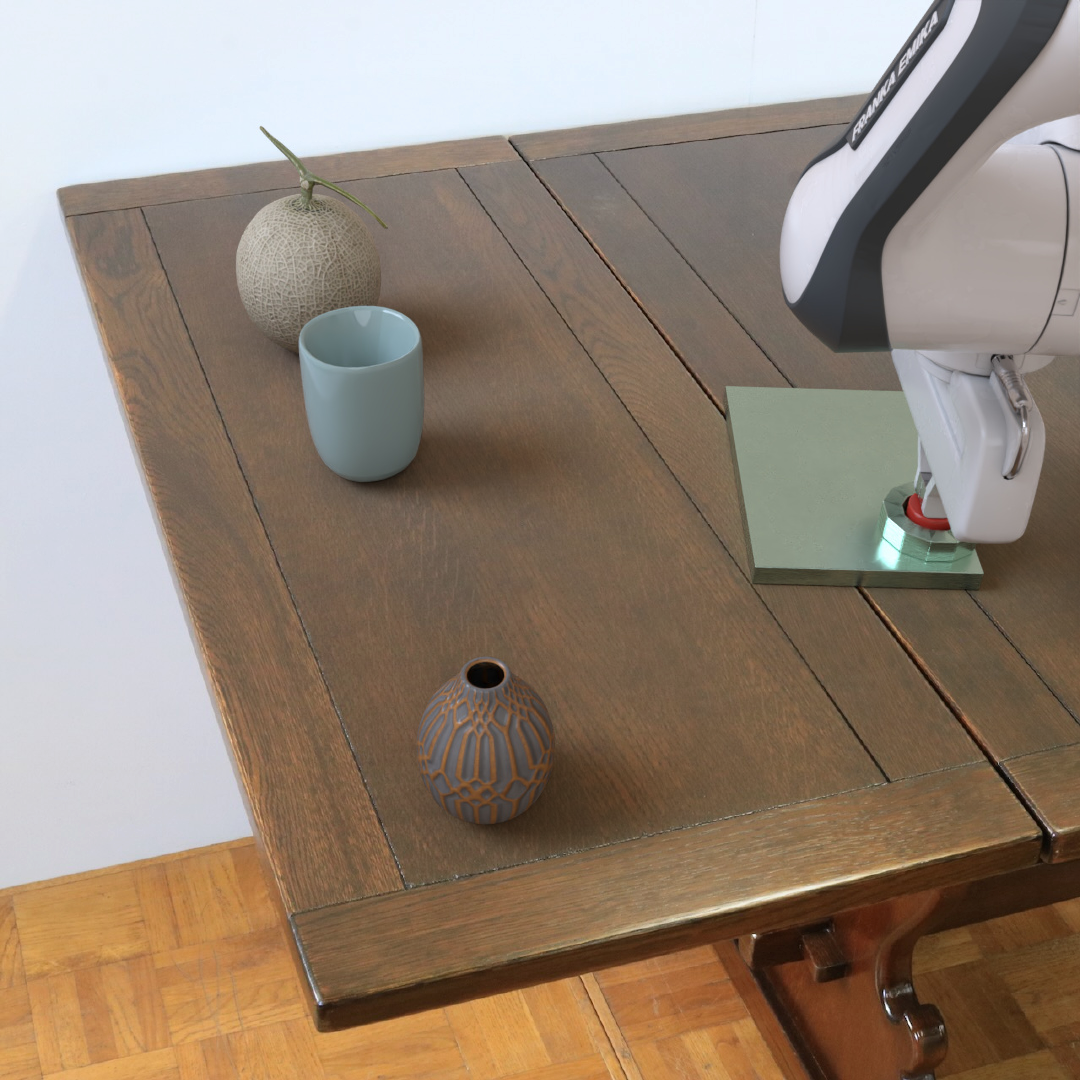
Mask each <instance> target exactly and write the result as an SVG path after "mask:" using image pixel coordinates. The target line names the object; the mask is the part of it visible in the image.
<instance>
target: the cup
mask: <svg viewBox="0 0 1080 1080" xmlns="http://www.w3.org/2000/svg"><path fill="white" fill-rule="evenodd" d="M423 345H424V344H423V340H422V335H421V331H420V329H419V328H418V326H417V325H416V323H415V322H414V321H413V320H412V319H411V318H410V317H408V316H407V315H405V314H404V313H402V312H400V311H397V310H395V309H393V308H389V307H385V306H378V305H377V306H354V307H346V308H341V309H337V310H333V311H329V312H327V313H324V314H321V315H319V316H317V317H315V318H313V319H312V320H310V321H309V322H308V323H307V324H305V326H304V327H303V329H302V330H301V332H300V335H299V341H298V347H299V353H298V358H299V367H300V368H299V370H300V377H301V378H300V379H301V385H302V393H303V402H304V408H305V409H304V410H305V414H306V419H307V424H308V430H309V433H310V438H311V440H312V443H313V445H314V448H315V450H316V452H317V454H318V456H319V458H320V459H321V461H322V462H323V463H324V464H325V466H326V467H327V468H328V469H329V471H331V472H333V473H334V474H335V475H336V476H339V477H340V478H342V479H344V480H348V481H352V482H358V483H373V482H378V481H383V480H386V479H389V478H392V477H394V476H396V475H398V474H400V473H402V472H403V471H404V470H405V469H406V468H408V467H409V466H410V465H411V463H412V462H413V461H414V459H415V458H416V456H417V454H418V452H419V449H420V446H421V443H422V438H423V431H424V420H425V401H426V400H425V399H426V398H425V366H424V363H425V362H424V361H425V360H424V346H423Z"/></svg>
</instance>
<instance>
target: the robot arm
mask: <svg viewBox="0 0 1080 1080" xmlns="http://www.w3.org/2000/svg"><path fill="white" fill-rule="evenodd" d="M779 271H780V279H781V281H780V282H781V290H782V296H783V300H784V303H785V305H786V307H788V309H789V310H790V312H791V313H792V314H793V315H794V316H795V318H796V319H797V320H798V321H799V322H800V323H801V324H802V325H803V326H804V327H805V328H806V330H808V331H809V332H810V333H811V334H812V335H813V336H814V337H815V338H817V340H818V341H820V342H821V343H822V344H823V345H824V346H825V347H827V348H828V350H830V351H831V352H833V353H834V354H849V353H850V354H851V353H887V352H889V353H890V354H891V355H890V356H891V360H892V363H893V365H894V368H895V371H896V374H897V377H898V380H899V383H900V386H901V388H902V391H903V392H904V394H905V397H906V400H907V403H908V406H909V409H910V412H911V415H912V418H913V421H914V423H915V426H916V429H917V432H918V468H917V472H916V476H915V480H914V488H915V491H916V494H917V497H918V499H919V502H920V505H921V509H922V512H923V515H924V516H925V517H927V518H947V519H948V521H949V524H950V527H951V531H952V533H953V535H954V537H955V538H956V539H957V540H958V541H961V542H967V543H977V544H985V545H986V544H987V545H989V544H991V545H992V544H993V545H997V544H999V545H1001V544H1005V545H1006V544H1012V543H1014V542H1016V541H1017V540H1019V539H1020V538H1021V537H1022V536H1023V535H1024V534H1025V532H1026V530H1027V526H1028V524H1029V521H1030V518H1031V517H1030V516H1031V514H1032V513H1031V512H1032V509H1033V505H1034V502H1035V498H1036V494H1037V490H1038V486H1039V482H1040V477H1041V473H1042V469H1043V464H1044V458H1045V452H1046V437H1047V436H1046V435H1047V434H1046V427H1045V423H1044V419H1043V417H1042V413H1041V411H1040V409H1039V408H1038V406H1037V403H1036V402H1035V399H1034V397H1033V395H1032V393H1031V391H1030V388H1029V387H1028V384H1027V382H1026V380H1025V377H1026V376H1027V374H1032V373H1035V372H1037V371H1040V370H1041V369H1043V368H1045V367H1047V366H1049V364H1050V363H1052V362H1053V361H1054V360H1055V358H1056V357H1073V358H1074V357H1076V358H1080V0H933V1H932V2H931V4H930V6H929V7H928V9H927V10H926V11H925V13H924V14H923V16H922V17H921V19H920V20H919V21H918V22H917V24H916V26H915V28H914V29H913V30H912V31H911V33H910V35H909V36H908V37H907V39H906V41H905V42H904V43H903V45H902V46H901V48H900V49H899V51H898V52H897V53H896V55H895V56H894V58H893V59H892V61H891V62H890V64H889V65H888V67H887V68H886V69H885V71H884V73H883V74H882V75H881V76H880V78H879V79H878V81H877V83H876V84H875V85H874V87H873V89H872V90H871V91H870V93H869V94H868V96H867V97H866V99H865V100H864V102H863V103H862V105H861V106H860V107H859V109H858V110H857V112H856V113H855V115H854V116H853V117H852V119H851V120H850V122H849V123H848V124H847V126H846V127H845V128H844V129H843V130H842V131H840V132H839V133H838V134H837V135H835V137H834V138H833V139H831V140H830V141H829V142H828V143H827V144H826V145H824V146H823V147H822V149H820V150H819V151H818V152H817V153H816V154H815V156H813V158H812V159H811V160H810V161H809V162H808V163H807V164H806V165H805V167H804V169H803V170H802V172H801V173H800V176H799V178H798V179H797V182H796V185H795V187H794V190H793V192H792V195H791V197H790V199H789V201H788V204H787V207H786V211H785V214H784V218H783V222H782V228H781V234H780V242H779Z"/></svg>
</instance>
